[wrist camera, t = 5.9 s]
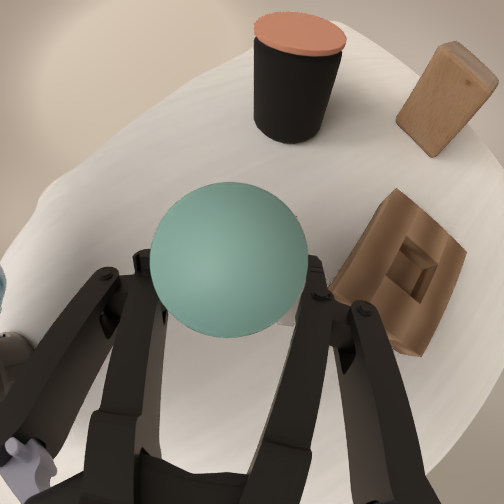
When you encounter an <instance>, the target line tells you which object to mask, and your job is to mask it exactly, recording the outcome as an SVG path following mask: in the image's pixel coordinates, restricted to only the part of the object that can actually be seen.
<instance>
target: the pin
mask: <svg viewBox="0 0 504 504" xmlns="http://www.w3.org/2000/svg"><path fill="white" fill-rule="evenodd" d="M307 269H308V249H307V243H306V239H305V235H304V233H303V230H302V228H301V225H300V224H299V222H298V220H297V218H296V217H295V215H294V214H293V213H292V211H291V210H290V209H289V208H288V207H287V206H286V205H285V204H284V203H283V202H282V201H281V200H280V199H278V198H277V197H276V196H274V195H273V194H271V193H269V192H268V191H266V190H263V189H261V188H259V187H256V186H253V185H249V184H244V183H236V182H224V183H216V184H211V185H207V186H204V187H201V188H199V189H197V190H195V191H192V192H191V193H189V194H187V195H186V196H184V197H183V198H181V199H180V200H179V201H178V202H176V203H175V204H174V205H173V206H172V207H171V208H170V209H169V211H168V212H167V213H166V215H165V216H164V217H163V219H162V220H161V222H160V224H159V226H158V227H157V230H156V232H155V235H154V238H153V241H152V245H151V251H150V271H151V277H152V281H153V285H154V287H155V290H156V292H157V295H158V296H159V298H160V300H161V302H162V303H163V305H164V306H165V307H166V308H167V310H168V311H169V312H170V313H171V314H172V315H173V316H174V317H175V318H176V319H177V320H178V321H180V322H181V323H182V324H184V325H185V326H187V327H189V328H191V329H193V330H194V331H197V332H200V333H202V334H205V335H209V336H214V337H222V338H234V337H242V336H247V335H251V334H254V333H257V332H259V331H261V330H263V329H265V328H267V327H269V326H271V325H272V324H274V323H275V322H277V321H278V320H279V319H280V318H281V317H282V316H284V315H285V314H286V313H287V312H288V310H289V309H290V308H291V307H292V306H293V304H294V303H295V301H296V300H297V298H298V296H299V294H300V292H301V290H302V288H303V285H304V282H305V279H306V275H307Z"/></svg>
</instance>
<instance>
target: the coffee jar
mask: <svg viewBox="0 0 504 504" xmlns="http://www.w3.org/2000/svg"><path fill="white" fill-rule="evenodd" d="M254 33H255V35H256V37H255V39H254V121H255V123H256V125H257V127H258V128H259V129H260V130H261V131H262V132H263V133H264V134H265V135H266V136H268V137H269V138H271V139H273V140H275V141H278V142H282V143H298V142H303V141H306V140H308V139H309V138H311V137H313V136H314V135H315V134H316V133H317V132H318V131H319V129H320V126H321V123H322V120H323V117H324V114H325V111H326V107H327V104H328V101H329V98H330V95H331V91H332V88H333V85H334V82H335V78H336V75H337V72H338V68H339V65H340V62H341V57H342V51H341V50H342V49H344V47H345V44H346V39H347V38H346V36H345V34H344V32H343V31H342V30H341V29H340V28H339V27H338V26H336V25H335V24H333V23H331V22H329V21H328V20H325V19H323V18H320V17H317V16H314V15H309V14H305V13H298V12H276V13H271V14H267V15H265V16H262V17H260V18H259V19H258V20H257V21H256V22H255V23H254Z"/></svg>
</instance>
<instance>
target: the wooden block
mask: <svg viewBox="0 0 504 504" xmlns="http://www.w3.org/2000/svg"><path fill="white" fill-rule="evenodd" d="M498 82H499V80H498V78H497V77H496V76H495V75H494V74H493V73H492V72H491V70H490V69H488V68H487V67H486V66H485V65H484V64H483V63H482V62H481V61H480V60H479V59H478V58H477V57H476V56H475V55H473V54H472V53H471V52H470V51H469V50H468V49H466V48H465V47H464V46H463V45H462V44H460V43H459V42H457V41H453V42H449V43H446V44H443V45H440V46H438V48H437V50H436V51H435V53H434V55H433V57H432V59H431V60H430V62H429V64H428V66H427V67H426V69H425V71H424V73H423V74H422V76H421V78H420V79H419V81H418V83H417V84H416V86H415V88H414V89H413V91H412V93H411V94H410V96H409V98H408V99H407V101H406V103H405V104H404V106H403V108H402V109H401V111H400V112H399V114H398V116H397V118H396V122H397V124H398V125H399V126H400V127H401V128H402V129H403V130H404V131H405V132H406V133H407V134H408V135H409V136H410V137H411V138H412V139H413V140H414V141H415V142H416V143H417V144H418V145H419V146H420V147H421V148H422V149H423V150H424V151H425V152H426V153H427V154H428V155H429V156H430V157H435V156H437V155H438V154H439V153H440V152H441V151H442V150H443V148H444V147H445V146H446V145H447V144H448V143H449V142H450V141H451V140H452V139H453V138H454V137H455V136H456V135H457V134H458V132H459V131H460V130H461V129H462V128H463V127H464V126H465V125H466V124H467V122H468V121H469V120H470V119H471V118H472V117H473V116H474V114H475V113H476V112H477V111H478V110H479V109H480V108H481V106H482V105H483V104H484V103H485V102H486V101H487V100H488V98H489V97H490V96H491V95H492V93H493V92H494V90H495V89H496V87H497V85H498Z"/></svg>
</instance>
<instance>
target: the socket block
mask: <svg viewBox="0 0 504 504" xmlns="http://www.w3.org/2000/svg"><path fill="white" fill-rule="evenodd" d="M466 253H467V252H466V251H465V250H464V249H463V248H462V247H461V246H460V244H459V243H458V242H457V241H456V240H455V239H454V238H453V237H452V236H450V235H449V234H448V233H447V232H446V231H445V230H444V229H443V228H442V227H441V226H440V225H439V224H438V223H437V222H436V221H435V220H434V219H432V218H431V217H430V216H429V215H428V214H427V213H426V212H425V211H423V210H422V209H421V208H420V207H419V206H418V205H417V204H415V203H414V202H413V201H412V200H411V199H409V198H408V197H407V196H406V195H405V194H403V193H402V192H401V191H400V190H398V189H397V188H396V189H395V190H394V191H393V192H392V193H391V194H390V195H389V196H388V197H387V198H386V199H385V200H384V201H383V202H382V203H381V204H380V205H379V207H378V209H377V210H376V212H375V214H374V216H373V217H372V219H371V221H370V223H369V224H368V226H367V228H366V229H365V231H364V233H363V234H362V236H361V238H360V239H359V241H358V243H357V244H356V246H355V247H354V249H353V251H352V252H351V254H350V255H349V257H348V259H347V260H346V262H345V263H344V265H343V266H342V268H341V270H340V271H339V273H338V274H337V276H336V277H335V279H334V280H333V282H332V283H331V285H330V286H329V288H328V290H330V291H331V292H332V294H333V295H334V299H335V300H336V301H338V302H340V303H343V304H346V305H349V306H351V304H352V303H353V302H354V301H356V300H364V301H368V302H370V303H372V304H373V305H374V306H375V307H376V308H377V310H378V312H379V315H380V317H381V320H382V322H383V325H384V328H385V330H386V333H387V336H388V339H389V341H390V344H391V347H392V348H393V349H395V350H396V351H397V352H398V353H400V354H406V355H412V356H418V357H422V355H423V353H424V351H425V350H426V348H427V346H428V344H429V342H430V340H431V338H432V336H433V334H434V332H435V330H436V328H437V326H438V324H439V322H440V320H441V318H442V316H443V313H444V311H445V309H446V307H447V304H448V302H449V300H450V297H451V295H452V292H453V290H454V287H455V285H456V282H457V279H458V277H459V274H460V271H461V268H462V266H463V263H464V260H465V256H466Z"/></svg>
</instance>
